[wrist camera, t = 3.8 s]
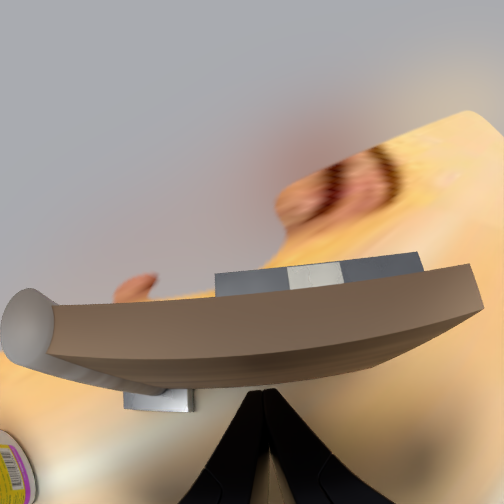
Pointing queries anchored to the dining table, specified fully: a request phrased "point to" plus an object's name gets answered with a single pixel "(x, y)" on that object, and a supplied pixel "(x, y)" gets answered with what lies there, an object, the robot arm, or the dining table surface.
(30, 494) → the supplement bottle
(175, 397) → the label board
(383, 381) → the dining table surface
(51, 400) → the dining table surface
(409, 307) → the walnut gate
